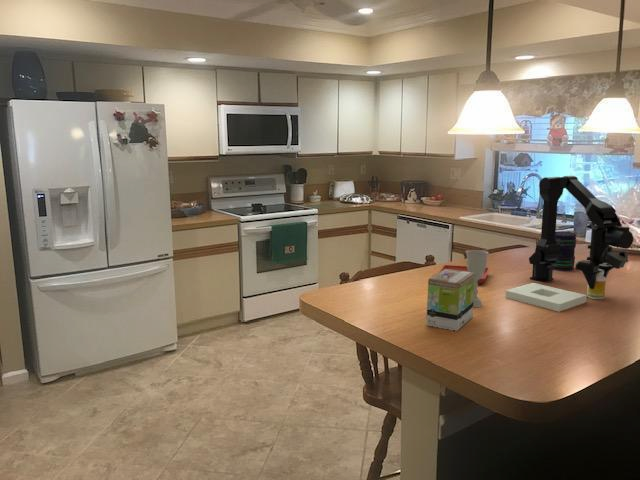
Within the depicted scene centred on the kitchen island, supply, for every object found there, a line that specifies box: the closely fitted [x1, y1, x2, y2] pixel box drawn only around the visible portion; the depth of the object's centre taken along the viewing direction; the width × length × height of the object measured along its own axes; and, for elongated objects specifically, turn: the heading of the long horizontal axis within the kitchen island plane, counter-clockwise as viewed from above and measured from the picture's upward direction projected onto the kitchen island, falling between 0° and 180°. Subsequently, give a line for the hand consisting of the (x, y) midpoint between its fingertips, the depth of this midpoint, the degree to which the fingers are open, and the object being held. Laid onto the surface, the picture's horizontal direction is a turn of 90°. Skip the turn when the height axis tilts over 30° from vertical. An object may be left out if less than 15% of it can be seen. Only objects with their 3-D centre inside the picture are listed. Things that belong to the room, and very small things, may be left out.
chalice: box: [465, 249, 489, 308], centre depth 178 cm, size 7×7×18 cm
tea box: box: [425, 269, 475, 332], centre depth 163 cm, size 15×10×15 cm, turn 148°
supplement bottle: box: [586, 269, 607, 300], centre depth 185 cm, size 5×5×10 cm
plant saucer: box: [438, 264, 490, 285], centre depth 213 cm, size 18×18×3 cm
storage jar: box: [552, 230, 577, 272], centre depth 225 cm, size 10×10×15 cm
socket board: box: [504, 282, 587, 313], centre depth 184 cm, size 20×16×2 cm
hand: (596, 287), depth 185 cm, fingers closed on supplement bottle, 5 cm apart
